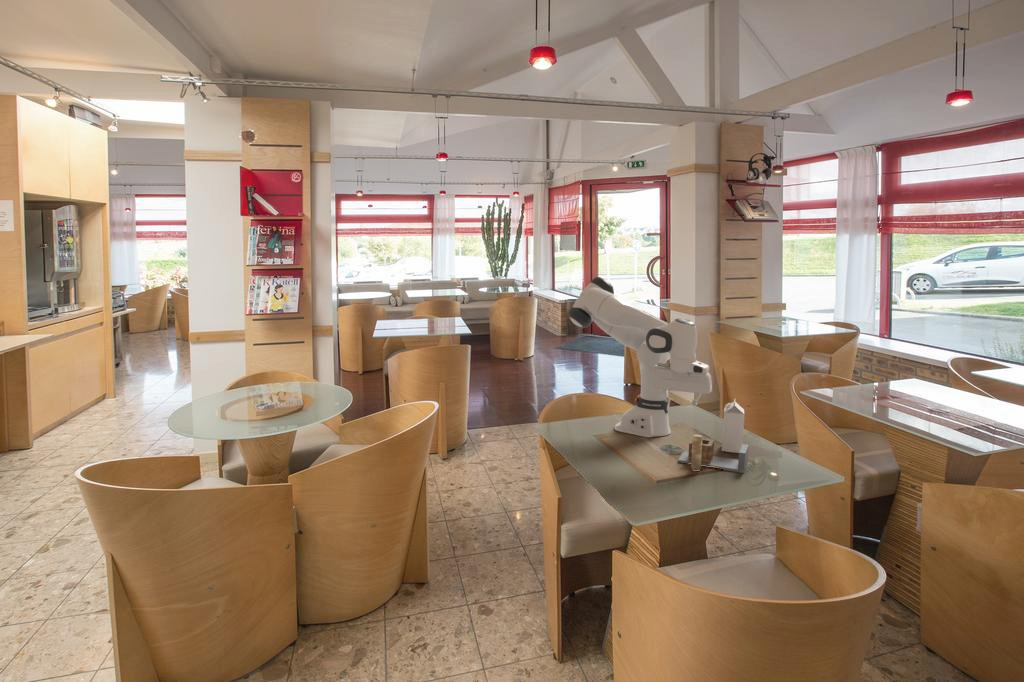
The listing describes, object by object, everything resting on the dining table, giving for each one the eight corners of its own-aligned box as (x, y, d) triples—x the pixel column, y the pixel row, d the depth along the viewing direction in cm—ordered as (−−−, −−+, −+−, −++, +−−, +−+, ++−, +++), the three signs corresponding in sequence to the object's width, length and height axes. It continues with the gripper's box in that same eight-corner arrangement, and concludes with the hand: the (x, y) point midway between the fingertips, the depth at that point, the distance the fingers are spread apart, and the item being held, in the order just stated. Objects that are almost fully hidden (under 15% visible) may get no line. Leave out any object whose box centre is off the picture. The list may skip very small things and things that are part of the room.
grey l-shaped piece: (677, 462, 218) (678, 443, 217) (683, 454, 227) (684, 435, 226) (743, 473, 209) (745, 453, 207) (747, 464, 217) (748, 444, 216)
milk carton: (741, 448, 235) (744, 399, 232) (741, 453, 228) (745, 403, 225) (721, 445, 237) (724, 397, 234) (721, 451, 230) (724, 402, 227)
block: (688, 459, 218) (689, 443, 217) (692, 453, 224) (693, 437, 223) (710, 462, 215) (711, 446, 214) (713, 456, 221) (714, 440, 220)
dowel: (690, 470, 211) (691, 436, 209) (691, 467, 213) (693, 434, 211) (699, 472, 209) (701, 438, 207) (701, 469, 212) (703, 435, 210)
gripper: (651, 363, 221) (649, 401, 223) (710, 369, 211) (708, 408, 213) (655, 361, 226) (654, 398, 228) (713, 366, 217) (711, 404, 219)
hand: (681, 403), depth 221 cm, fingers open, 8 cm apart
